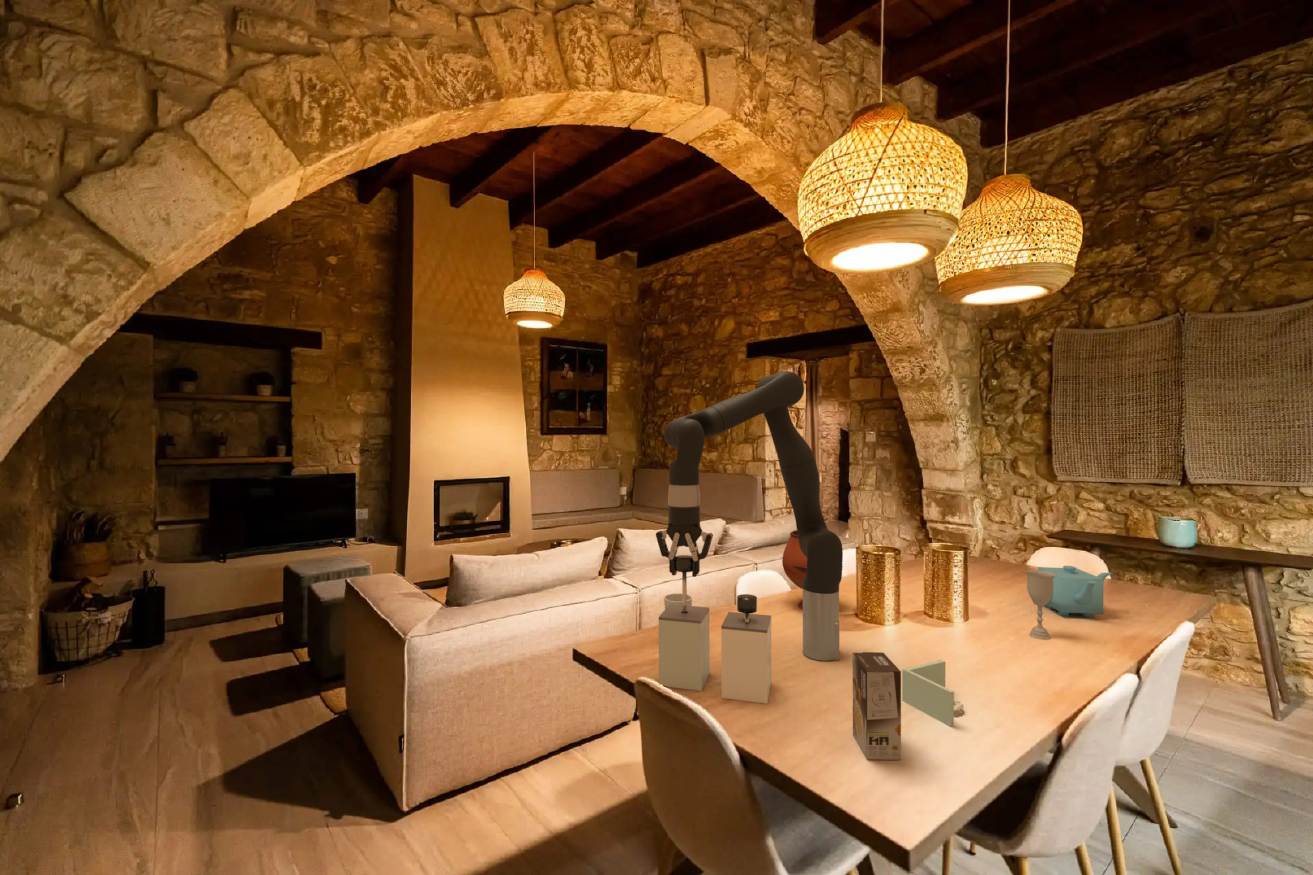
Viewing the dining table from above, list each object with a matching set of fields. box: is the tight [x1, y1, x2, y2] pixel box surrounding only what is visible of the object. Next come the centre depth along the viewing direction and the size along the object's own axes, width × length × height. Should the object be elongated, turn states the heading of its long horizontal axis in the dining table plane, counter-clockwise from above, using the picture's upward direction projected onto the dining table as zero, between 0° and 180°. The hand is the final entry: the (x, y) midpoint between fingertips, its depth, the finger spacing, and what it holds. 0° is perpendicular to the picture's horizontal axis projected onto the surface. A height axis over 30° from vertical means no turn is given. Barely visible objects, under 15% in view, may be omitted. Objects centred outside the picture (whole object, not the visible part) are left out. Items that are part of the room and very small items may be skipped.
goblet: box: [781, 529, 807, 611], centre depth 188 cm, size 19×19×25 cm
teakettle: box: [1037, 565, 1114, 618], centre depth 182 cm, size 19×19×15 cm
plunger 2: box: [736, 593, 758, 622], centre depth 129 cm, size 8×8×19 cm
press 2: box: [720, 611, 772, 705], centre depth 129 cm, size 10×10×16 cm
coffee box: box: [851, 651, 902, 761], centre depth 106 cm, size 9×6×16 cm
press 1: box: [658, 604, 711, 692], centre depth 135 cm, size 10×10×16 cm
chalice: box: [1024, 569, 1056, 641], centre depth 161 cm, size 7×7×18 cm
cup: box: [663, 592, 693, 610], centre depth 160 cm, size 8×8×12 cm
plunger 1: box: [675, 554, 693, 614], centre depth 135 cm, size 8×8×19 cm
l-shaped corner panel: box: [901, 659, 965, 728], centre depth 121 cm, size 12×12×8 cm
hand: (684, 574), depth 135 cm, fingers closed on plunger 1, 4 cm apart
